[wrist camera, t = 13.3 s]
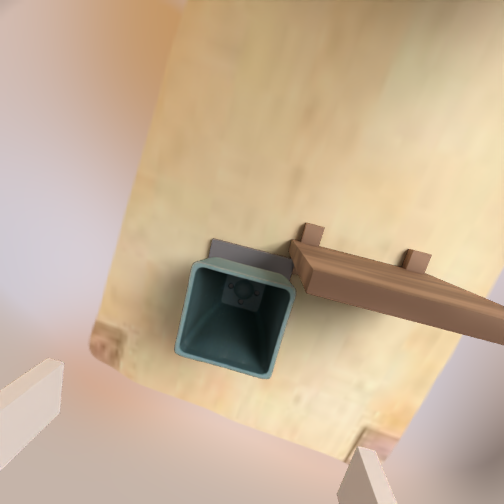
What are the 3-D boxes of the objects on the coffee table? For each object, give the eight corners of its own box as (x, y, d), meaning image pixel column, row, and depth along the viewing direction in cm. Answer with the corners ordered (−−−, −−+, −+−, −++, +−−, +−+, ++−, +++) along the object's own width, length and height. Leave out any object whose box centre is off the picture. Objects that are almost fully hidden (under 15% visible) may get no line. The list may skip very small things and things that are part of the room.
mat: (213, 238, 28) (212, 238, 28) (294, 259, 28) (295, 260, 27) (197, 313, 30) (195, 315, 30) (272, 333, 30) (273, 336, 29)
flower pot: (216, 243, 28) (191, 260, 19) (289, 262, 28) (298, 288, 19) (201, 311, 29) (172, 354, 21) (269, 329, 29) (270, 381, 20)
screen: (297, 220, 27) (325, 232, 13) (434, 255, 27) (608, 305, 13) (283, 269, 28) (295, 326, 15) (414, 303, 28) (554, 395, 14)
